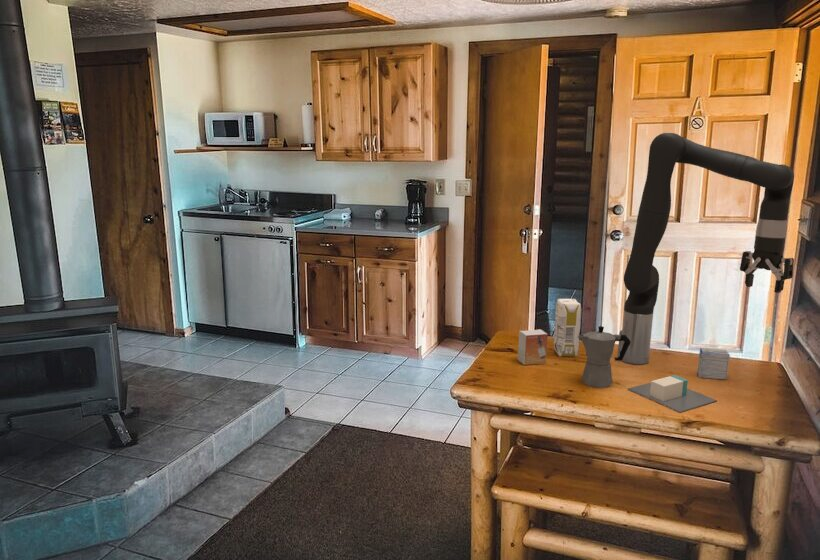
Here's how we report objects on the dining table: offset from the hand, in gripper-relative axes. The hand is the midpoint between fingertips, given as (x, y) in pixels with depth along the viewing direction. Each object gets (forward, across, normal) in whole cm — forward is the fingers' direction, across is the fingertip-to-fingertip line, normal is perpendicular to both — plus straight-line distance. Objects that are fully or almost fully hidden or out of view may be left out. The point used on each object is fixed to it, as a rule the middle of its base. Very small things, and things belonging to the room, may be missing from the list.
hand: (763, 289), depth 177 cm
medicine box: (+30, +10, +4) cm, 32 cm away
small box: (+30, +47, +46) cm, 72 cm away
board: (+30, +6, +28) cm, 42 cm away
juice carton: (+30, +48, +30) cm, 64 cm away
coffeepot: (+30, +23, +39) cm, 54 cm away
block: (+28, +6, +34) cm, 44 cm away
